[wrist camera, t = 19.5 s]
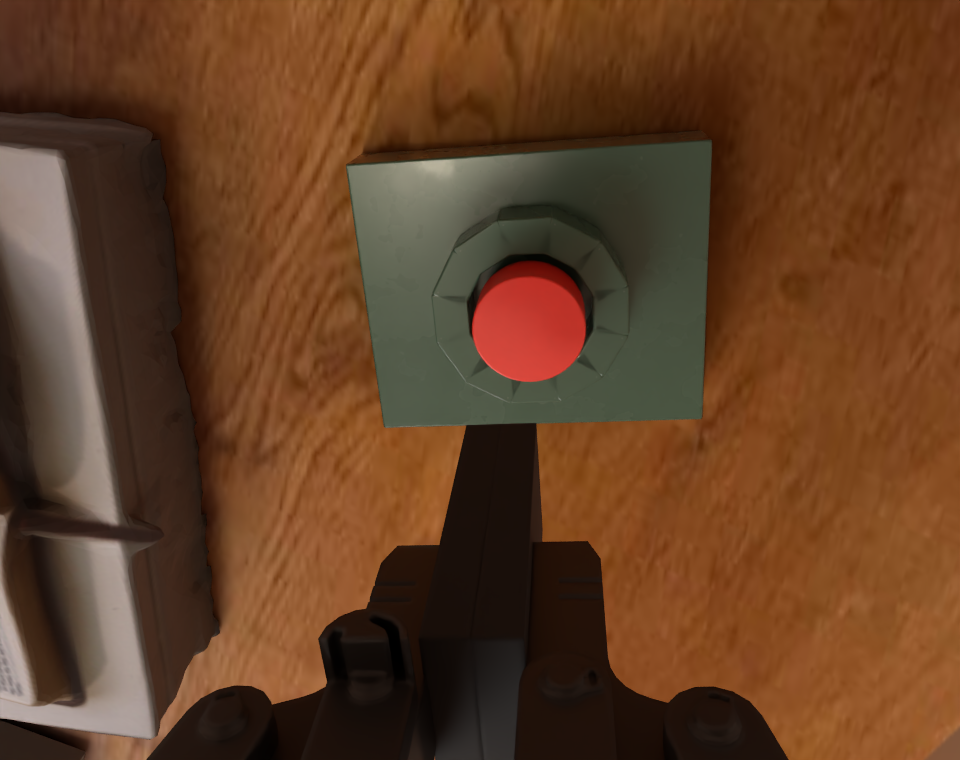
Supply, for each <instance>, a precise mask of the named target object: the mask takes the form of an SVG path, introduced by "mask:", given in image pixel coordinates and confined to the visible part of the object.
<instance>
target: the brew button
mask: <svg viewBox="0 0 960 760" xmlns="http://www.w3.org/2000/svg"><path fill="white" fill-rule="evenodd" d="M472 334H473V340H474V343H475V346H476V348H477V351H478V353H479V354H480V356H481V357H482V359H483V360H484V361H485V362H486V364H487V365H489V366H490V367H491V368H492V369H493V370H495V371H496V372H497V373H499V374H501V375H503V376H505V377H507V378H510V379H513V380H517V381H523V382H535V381H542V380H546V379H549V378H552V377H554V376H556V375H558V374H560V373H562V372H563V371H565V370H566V369H567V368H568V367H569V366H570V365H571V364H572V363H573V362H574V361H575V360H576V358H577V357H578V355H579V354H580V352H581V350H582V347H583V344H584V341H585V336H586V320H585V307H584V301H583V297H582V294H581V292H580V290H579V288H578V286H577V285H576V283H575V282H574V281H573V279H572V278H571V277H570V276H569V275H568V274H567V273H565V272H564V271H563V270H561V269H559V268H558V267H556V266H554V265H551V264H549V263H545V262H541V261H520V262H516V263H512V264H510V265H507V266H505V267H503V268H502V269H500V270H499V271H497V272H496V273H495V274H494V275H492V276H491V277H490V278H489V280H488V281H487V282H486V284H485V285H484V287H483V289H482V291H481V293H480V296H479V299H478V302H477V306H476V309H475V312H474V316H473V322H472Z"/></svg>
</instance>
